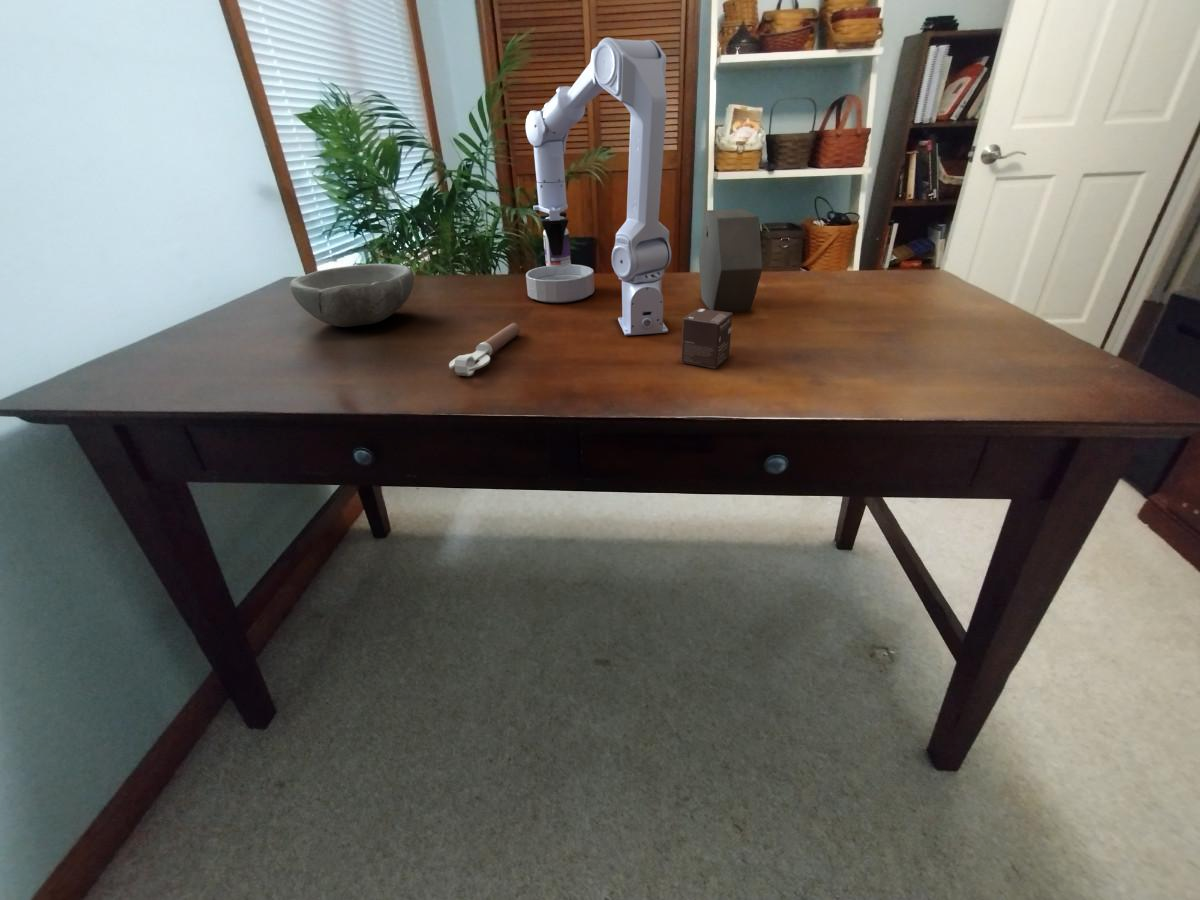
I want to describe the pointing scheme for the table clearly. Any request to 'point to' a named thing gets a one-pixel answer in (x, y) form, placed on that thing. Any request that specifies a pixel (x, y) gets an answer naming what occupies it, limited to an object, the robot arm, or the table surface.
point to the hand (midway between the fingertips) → (556, 251)
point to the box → (706, 338)
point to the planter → (730, 260)
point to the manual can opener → (483, 351)
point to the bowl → (354, 293)
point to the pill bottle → (557, 260)
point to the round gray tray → (560, 283)
